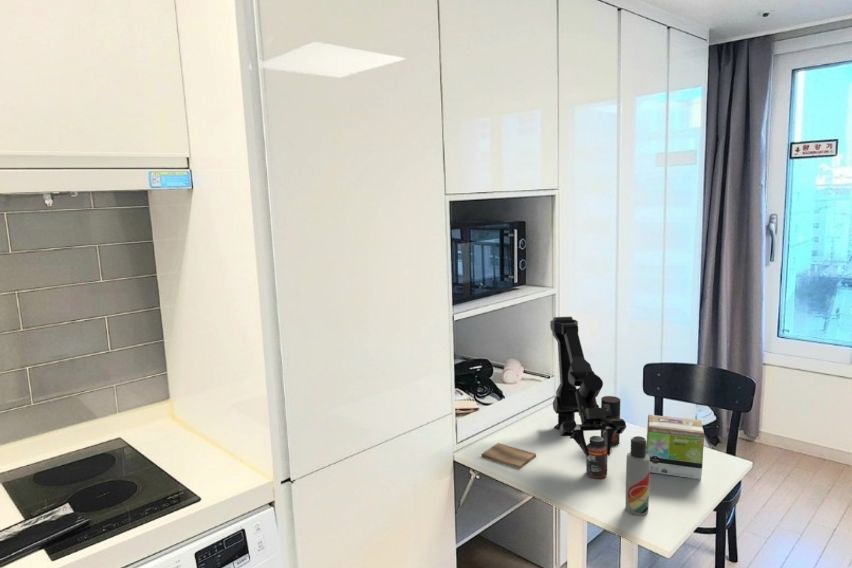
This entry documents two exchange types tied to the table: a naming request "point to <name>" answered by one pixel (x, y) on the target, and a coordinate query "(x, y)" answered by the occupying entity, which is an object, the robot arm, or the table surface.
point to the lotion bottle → (637, 477)
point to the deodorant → (615, 414)
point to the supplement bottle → (596, 458)
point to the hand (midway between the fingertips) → (598, 455)
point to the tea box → (675, 446)
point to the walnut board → (508, 455)
